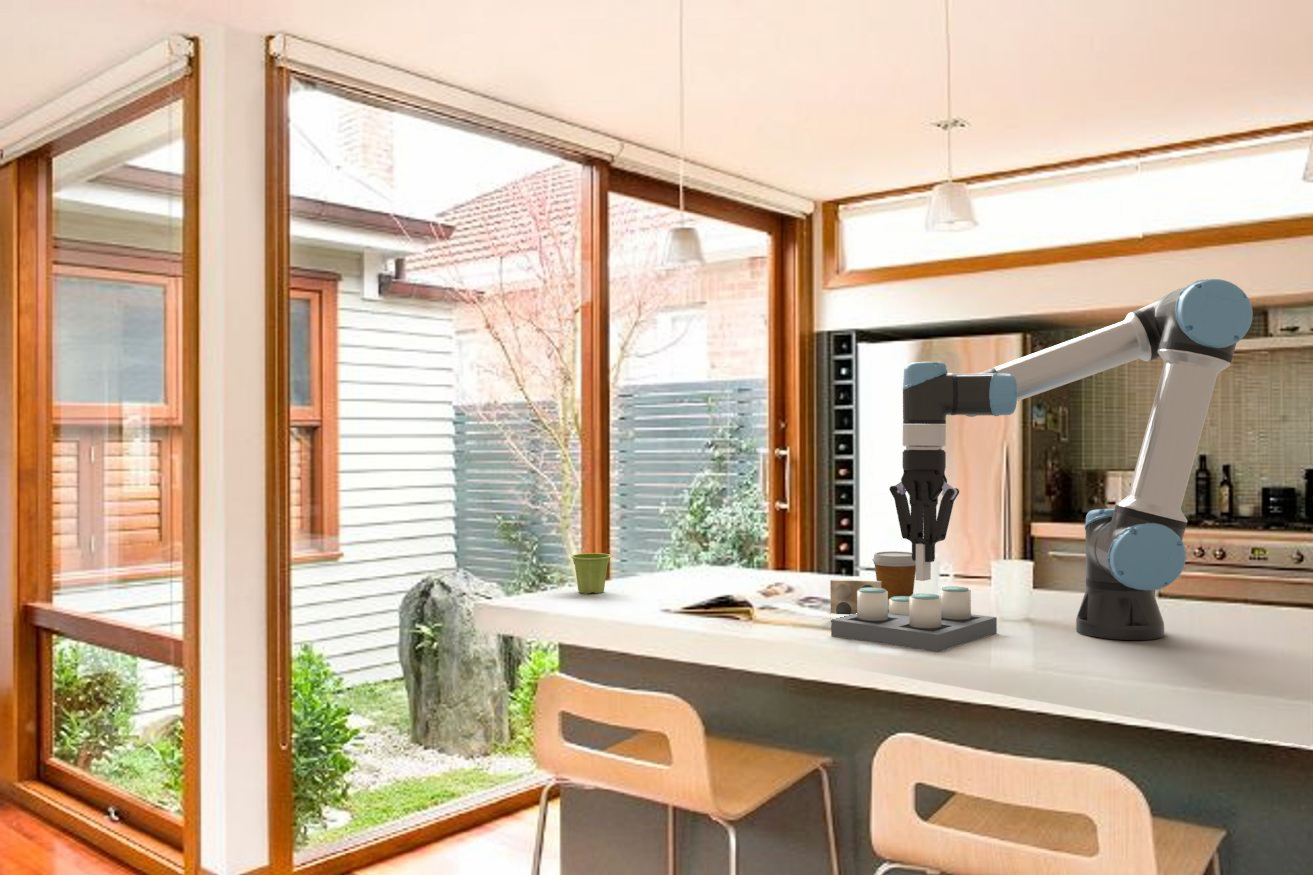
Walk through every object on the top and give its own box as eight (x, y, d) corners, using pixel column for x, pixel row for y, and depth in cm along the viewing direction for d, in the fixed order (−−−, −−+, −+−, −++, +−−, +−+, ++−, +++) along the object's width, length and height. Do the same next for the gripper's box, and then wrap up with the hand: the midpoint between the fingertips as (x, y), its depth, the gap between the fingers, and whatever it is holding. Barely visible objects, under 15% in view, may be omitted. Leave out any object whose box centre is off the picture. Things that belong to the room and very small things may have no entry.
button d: (893, 617, 202) (893, 589, 202) (877, 621, 198) (877, 592, 198) (867, 614, 206) (867, 586, 206) (851, 618, 202) (851, 589, 202)
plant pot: (618, 590, 259) (618, 554, 259) (596, 596, 251) (595, 558, 251) (587, 587, 264) (586, 552, 264) (563, 593, 256) (563, 556, 256)
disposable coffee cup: (919, 615, 222) (919, 556, 222) (872, 614, 224) (872, 556, 224) (918, 607, 231) (917, 551, 231) (872, 606, 233) (872, 550, 233)
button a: (976, 616, 202) (976, 587, 202) (961, 620, 198) (961, 591, 198) (949, 613, 206) (948, 585, 206) (934, 617, 202) (934, 588, 202)
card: (881, 620, 216) (881, 581, 216) (881, 622, 215) (881, 581, 215) (831, 619, 218) (830, 579, 218) (830, 620, 217) (830, 580, 217)
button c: (947, 624, 194) (947, 595, 194) (931, 629, 190) (931, 599, 190) (919, 621, 198) (919, 592, 198) (903, 625, 194) (903, 595, 194)
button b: (923, 625, 210) (923, 597, 210) (908, 629, 206) (908, 601, 206) (898, 621, 214) (898, 594, 214) (883, 625, 210) (883, 598, 210)
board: (996, 633, 203) (996, 617, 202) (937, 652, 187) (937, 634, 187) (893, 619, 218) (893, 604, 218) (831, 635, 202) (831, 619, 202)
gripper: (967, 448, 192) (966, 581, 192) (903, 447, 201) (902, 573, 201) (946, 449, 187) (945, 585, 187) (881, 448, 196) (880, 578, 196)
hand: (923, 579), depth 194 cm, fingers closed
